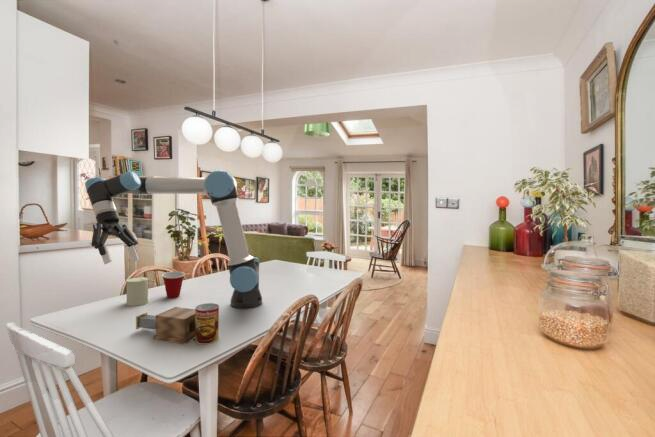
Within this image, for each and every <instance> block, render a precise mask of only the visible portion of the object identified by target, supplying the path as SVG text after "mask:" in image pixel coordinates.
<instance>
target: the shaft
mask: <svg viewBox="0 0 655 437" xmlns="http://www.w3.org/2000/svg"><path fill="white" fill-rule="evenodd" d="M141 328H142V329H148V330H155V331H156V315H152V314H148V312H143V313H141V314H138V315H136V316H135V330H140V329H141ZM190 330H191V323H190V329H189V331H190Z"/></svg>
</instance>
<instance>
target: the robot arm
mask: <svg viewBox="0 0 655 437" xmlns="http://www.w3.org/2000/svg"><path fill="white" fill-rule="evenodd" d="M84 186H85V190H86V191H85V192H86V194H87V195H88V198H89V201H90V204H91V207H92V210H93V213H94V215H95V220H96V223H94V224H92V228H93V231H92V239H91V244H90V246H91V247H93V248H94V249H96V250H97V249H98V250H97V251H98V252H99V255H100V256H101V258H102V262H103V263H104V265H106V264H109V263H111V262H112V257H111V254H110V252H109V248H108V246H107V245H105V244H106V242H107V239H108V238H109V236H113V237H114V236H115V237H116V238H118V239H120V241H122V243H124V244H125V245H126V246H127V250H128V253H129V256H130V259H131V261H132V263H135V262H137V261H139V260H140V257H139V255H138V250H137V247H136V245H138V244H139V242H138V240H137V238H135V237H134V236H133V234H132V233H131V231H130V230H129V228H128V227H127V225H126V224H122V225H121V224H120V223H119V222H120V216H119V213H118V212H117V208H116V205H115V203H114V202H115V201H114V199H113V198H116V197H118V196H121V195H123V194H133V195H134V194H135V195H144V194H145V195H153V194H154V195H155V194H156V195H158V194H160V195H162V194H165V195H166V194H167V195H169V194H170V195H171V194H173V195H174V194H177V195H178V194H179V195H180V194H181V195H185V194H187V195H189V194H190V195H191V194H192V195H195V194H196V195H197V194H199V195H206V196H208V197H209V199H210V202H211V205H212V206H214V207H215V208H216V212H217V215H218V218H219V223H220V226H221V230H222V233H223V239H224V242H225V245H226V250H227V253H228V257H229V258H228V259H229V260H228V262H227V267H228V272H229V283H230V286H231V287H232V288H233V292H232V295H231V298H230V306H231V307H233V308H237V309H251V308H256V307H259V306H261V305H262V304H263V297H262V293H261V291H260V258H259V257H254V256H252V255H250V252H249V248H248V244H247V240H246V236H245V232H244V228H243V223H242V220H241V217H240V212H239V208H238V205H237V203H238V200H239V194H238V190H237V189H238V183H237V180H236V178H235V177H234V176H233V175H232V174H231V173H229V171H226V170H223V169H218V170H216V169H215V170H213V171H211V172H209V174H208V175H206V176H205V177H145V176H143V177H141V176H138V175H137V173H135V172H134V171H127V172H122V173H121V174H119V175H116V176H114V177H113V176H112V177H111V178H108V179H106V178H104V177H101V176H96V177H90V178H89V179H87V180H86V181H85V183H84Z"/></svg>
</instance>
